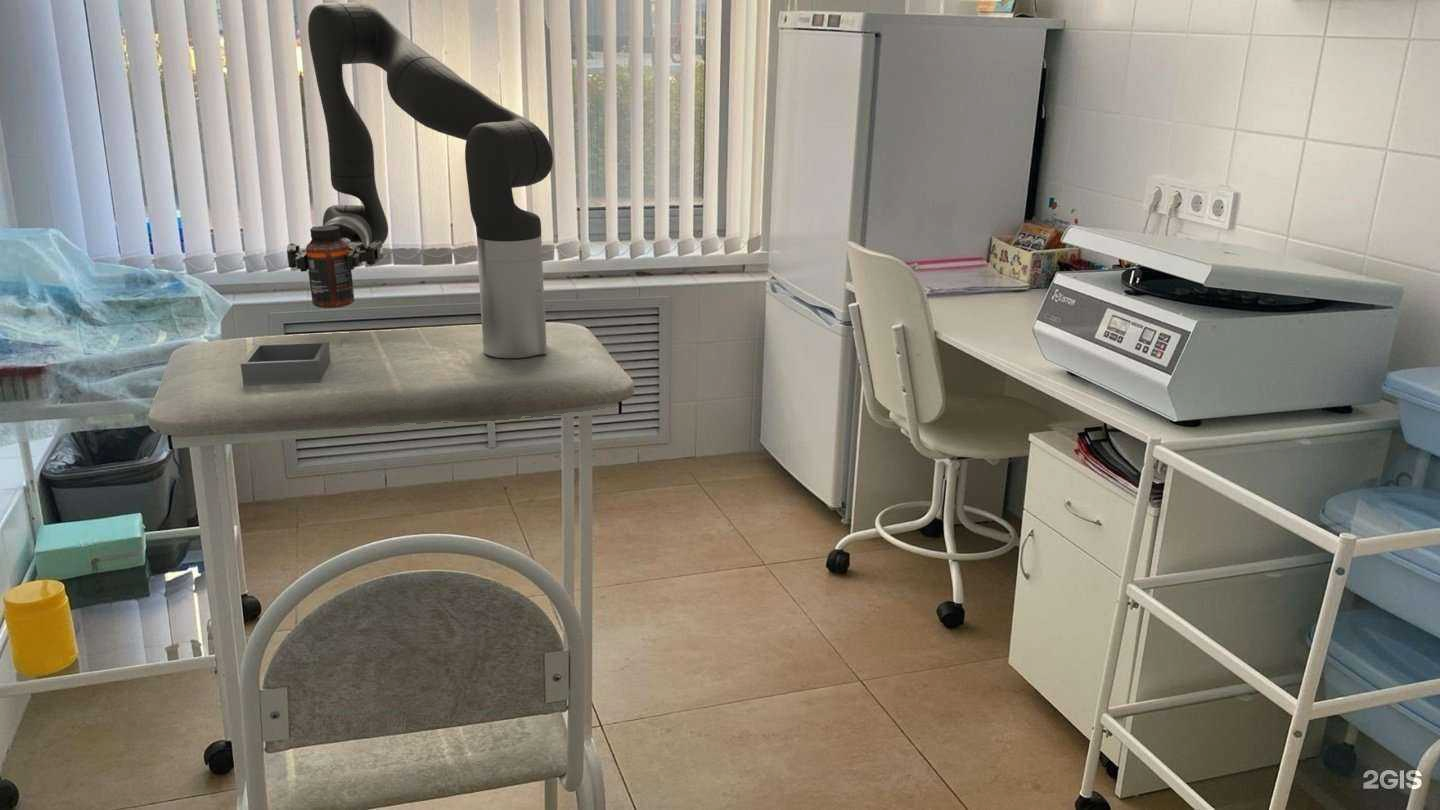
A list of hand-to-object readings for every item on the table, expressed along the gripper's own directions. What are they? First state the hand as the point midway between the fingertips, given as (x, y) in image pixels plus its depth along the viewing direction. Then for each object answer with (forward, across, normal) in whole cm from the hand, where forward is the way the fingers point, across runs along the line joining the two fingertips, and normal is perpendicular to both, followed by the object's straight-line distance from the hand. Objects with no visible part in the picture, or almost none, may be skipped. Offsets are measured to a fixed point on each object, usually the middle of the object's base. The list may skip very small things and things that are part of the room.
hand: (326, 263), depth 163 cm
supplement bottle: (-2, 0, +7) cm, 7 cm away
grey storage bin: (+8, -5, +14) cm, 17 cm away
